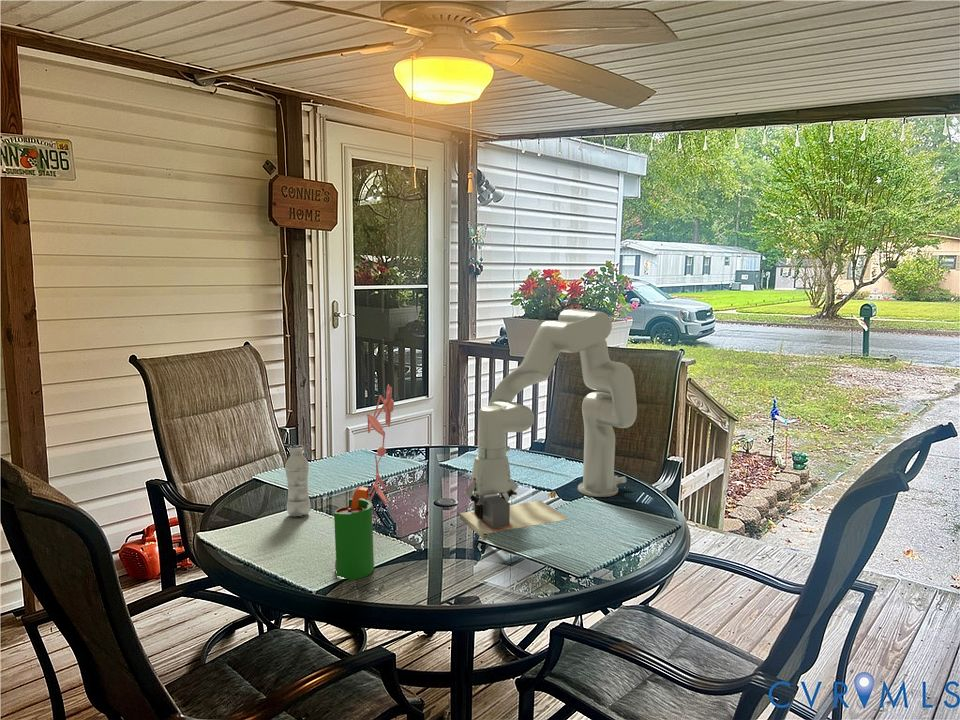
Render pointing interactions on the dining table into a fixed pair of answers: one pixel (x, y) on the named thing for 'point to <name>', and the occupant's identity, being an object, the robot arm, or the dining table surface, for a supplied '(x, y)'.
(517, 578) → the dining table surface
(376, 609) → the dining table surface
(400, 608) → the dining table surface
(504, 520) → the block
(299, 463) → the plastic bottle
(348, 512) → the green cylindrical container
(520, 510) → the board
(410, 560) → the dining table surface
